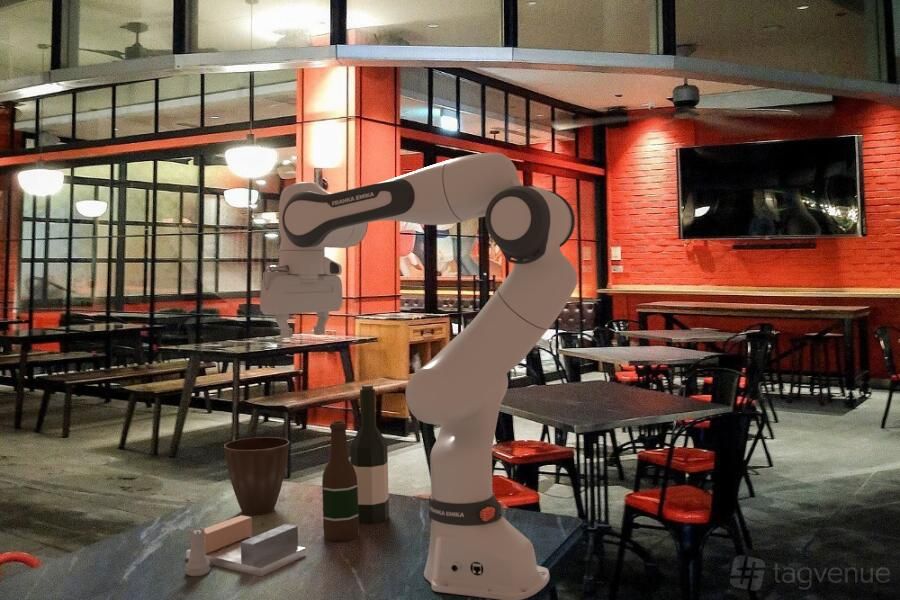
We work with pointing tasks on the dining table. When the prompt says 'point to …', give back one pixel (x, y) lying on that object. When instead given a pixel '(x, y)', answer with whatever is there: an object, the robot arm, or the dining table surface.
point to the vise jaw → (227, 532)
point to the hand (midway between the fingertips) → (303, 336)
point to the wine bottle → (370, 463)
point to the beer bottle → (339, 490)
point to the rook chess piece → (197, 554)
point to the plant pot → (257, 471)
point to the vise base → (260, 569)
